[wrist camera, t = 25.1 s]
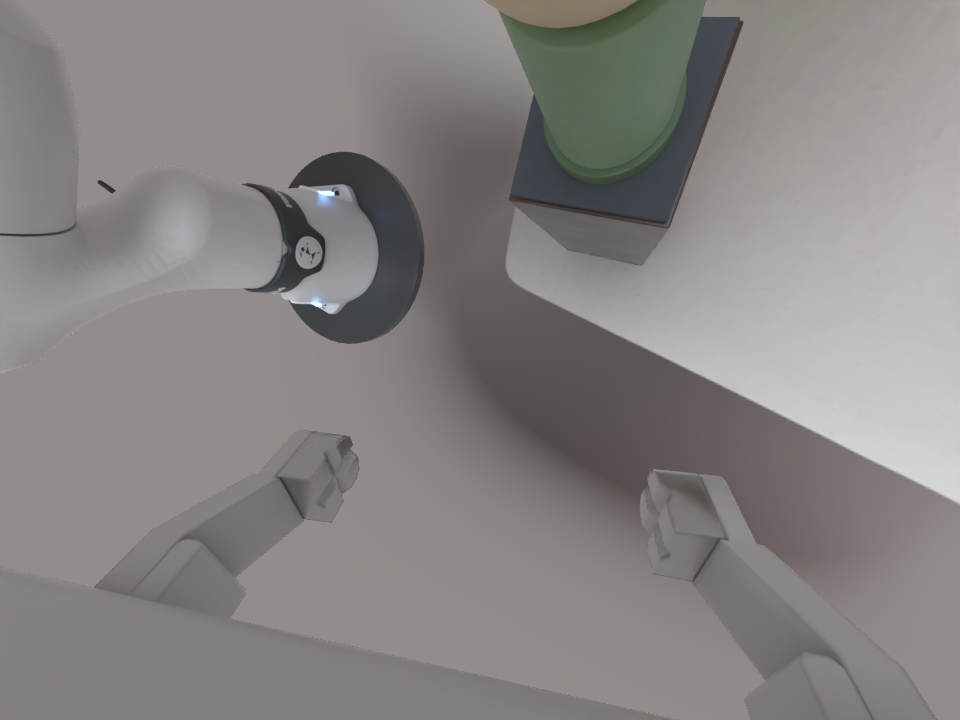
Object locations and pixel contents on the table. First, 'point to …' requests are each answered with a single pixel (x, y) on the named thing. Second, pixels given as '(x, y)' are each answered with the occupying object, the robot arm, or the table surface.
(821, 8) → the table surface
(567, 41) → the toy
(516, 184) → the mat
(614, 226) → the pedestal
